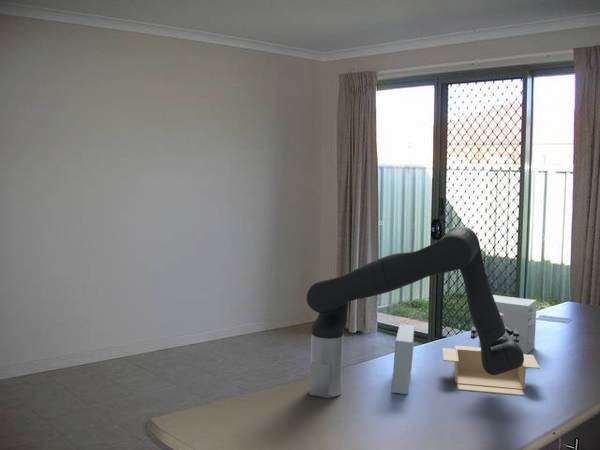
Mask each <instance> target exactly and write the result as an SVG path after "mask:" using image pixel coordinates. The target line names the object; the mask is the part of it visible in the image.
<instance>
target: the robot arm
mask: <svg viewBox="0 0 600 450" xmlns="http://www.w3.org/2000/svg"><path fill="white" fill-rule="evenodd" d="M457 270H459V272H460V273H461V276H462V280H463V283H464V284H463V285H464V287H465V294H466V301H467V307H468V311H469V314H470V317H471V320H472V323H473V325H472V326H471V328H470V339H472V340H474V339H476V338H478V340H479V343H480V346H481V347H480V348H481V360H482V365H483V368H484V370H485V371H486V372H487V373H488V374H490V375H498V374H501V373H504V372H507V371H510V370H514V369H517V368H519V367H520V366H521V365H522V364H523V362H524V355H523V352H522V350H521V348H520V347H519V345H518V344H517V343H518V342H519V336H520V334H519V333H518V331H517V330H515V329H512V330H510V329H509V328H508V327H506V326H504V323H503V321H502V318H501V315H500V313H499V310H498V308H497V305H496V303H495V300H494V297H493V295H494V294H493V292H492V288H491V285H490V284H489V283H490V282H489V279H488V277H487V272H486V268H485V265H484V261H483V254H482V250H481V244H480V241H479V237H478V236H477V234H476V233H475V231H474V230H473V229H472V228H470V227H468V226H463V225H458V226H454V227H453V228H450V230H448V232H446V233H445V234H444V235H443V237H441V238H440V239H439V240H437V241H435V242H434V243H431V244H430V245H428V246H425V247H423V248H421V249H420V248H419V250H414V251H410V252H409V251H408V252H397V253H393V254H389V255H388V254H387V255H386V256H384V257H381V258H378V259H375V260H373V261H371V262H368V263H366V264H364V265H361V266H360V267H358V268H356V269H354V270H352V271H350V272H349V273H346V274H344V275H341V276H338V277H332V278H328V279H327V278H326V279H324V280H320V281H317V282H314V283H313V284H311V286H310V287H309V288H308V291H307V293H306V303H307V305H308V306H309V308H310V309H311V310H312V311H313V312H316V313H318V316H317V318H316V319H315V321H314V322H313V323H312V324H311V337H310V339H311V340H310V342H311V343H310V345H311V346H310V366H309V368H310V371H309V372H310V373H309V395H310V396H313V397H314V396H315V397H320V398H325V399H330V398H335V397H339V396H340V395H341V394H342V385H343V384H342V381H343V379H342V378H343V351H344V330H345V327H346V325H347V322H348V321H347V320H348V309H349V303H350V302H352V301H356V300H361V299H366V298H370V297H375V296H379V295H383V294H387V293H390V292H392V291H396V290H398V289H401V288H404V287H407V286H409V285H412V284H414V283H416V282H419V281H420V280H421V281H422V280H423V279H426V278H428V277H431V276H434V275H435V276H436V275H440V274H444V273H450V272H453V271H457ZM511 339H513V341H512V340H511ZM514 341H515V342H514ZM516 342H517V343H516Z"/></svg>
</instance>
